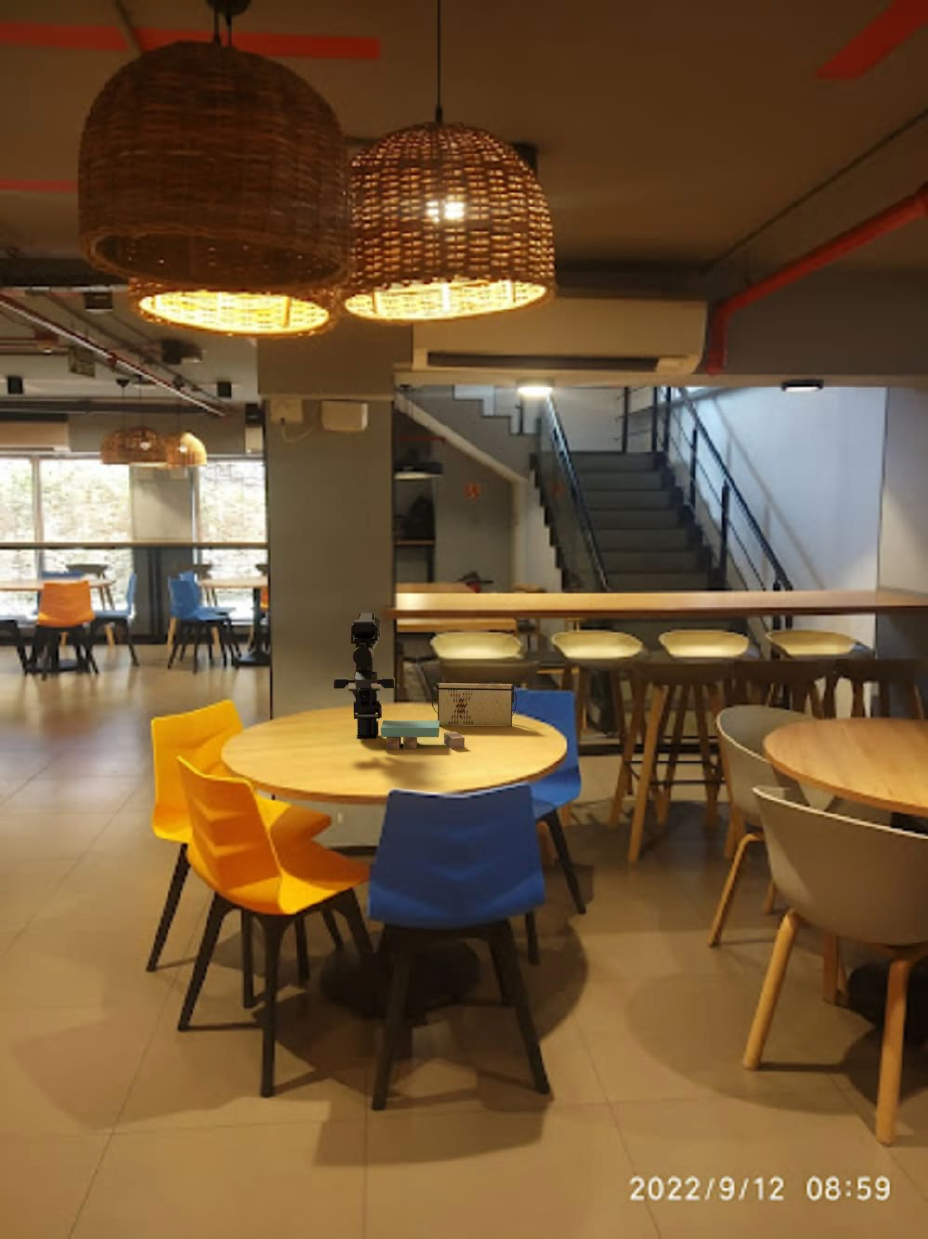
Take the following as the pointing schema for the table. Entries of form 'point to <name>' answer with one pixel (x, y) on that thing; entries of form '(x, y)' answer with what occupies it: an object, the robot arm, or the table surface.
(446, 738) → the block
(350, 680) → the robot arm
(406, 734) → the slab
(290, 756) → the table surface
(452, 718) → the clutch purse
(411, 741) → the block
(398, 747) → the block
